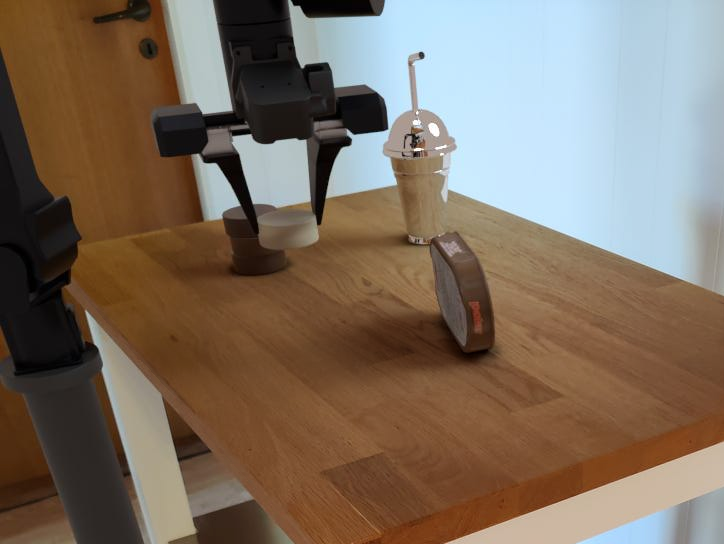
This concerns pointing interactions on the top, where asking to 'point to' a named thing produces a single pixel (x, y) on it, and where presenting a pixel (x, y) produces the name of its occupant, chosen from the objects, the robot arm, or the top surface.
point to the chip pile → (250, 243)
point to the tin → (463, 292)
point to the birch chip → (287, 229)
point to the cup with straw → (421, 166)
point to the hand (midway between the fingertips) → (287, 228)
